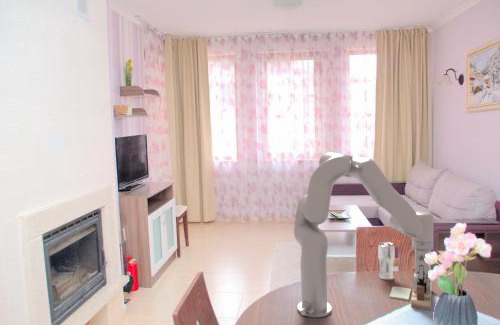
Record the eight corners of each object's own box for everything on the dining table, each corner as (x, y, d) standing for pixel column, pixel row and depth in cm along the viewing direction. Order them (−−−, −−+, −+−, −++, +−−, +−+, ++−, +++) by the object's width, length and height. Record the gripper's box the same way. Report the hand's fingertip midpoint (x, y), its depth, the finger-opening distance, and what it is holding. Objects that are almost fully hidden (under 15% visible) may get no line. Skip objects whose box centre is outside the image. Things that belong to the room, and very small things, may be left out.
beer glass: (378, 279, 170) (378, 246, 169) (377, 273, 177) (377, 241, 175) (395, 281, 168) (395, 247, 167) (394, 274, 175) (394, 242, 173)
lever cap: (430, 294, 148) (430, 277, 147) (413, 291, 150) (413, 275, 150) (430, 289, 151) (430, 273, 151) (414, 287, 154) (414, 271, 153)
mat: (408, 300, 150) (408, 299, 150) (389, 297, 153) (389, 296, 153) (410, 290, 159) (410, 288, 158) (392, 287, 162) (392, 286, 162)
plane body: (429, 310, 142) (430, 289, 141) (411, 306, 145) (411, 286, 144) (432, 290, 158) (432, 271, 157) (414, 287, 161) (415, 269, 160)
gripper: (432, 252, 140) (431, 300, 142) (434, 238, 155) (433, 282, 157) (409, 249, 143) (409, 296, 145) (413, 236, 158) (413, 280, 160)
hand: (422, 289), depth 151 cm, fingers closed on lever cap, 4 cm apart
